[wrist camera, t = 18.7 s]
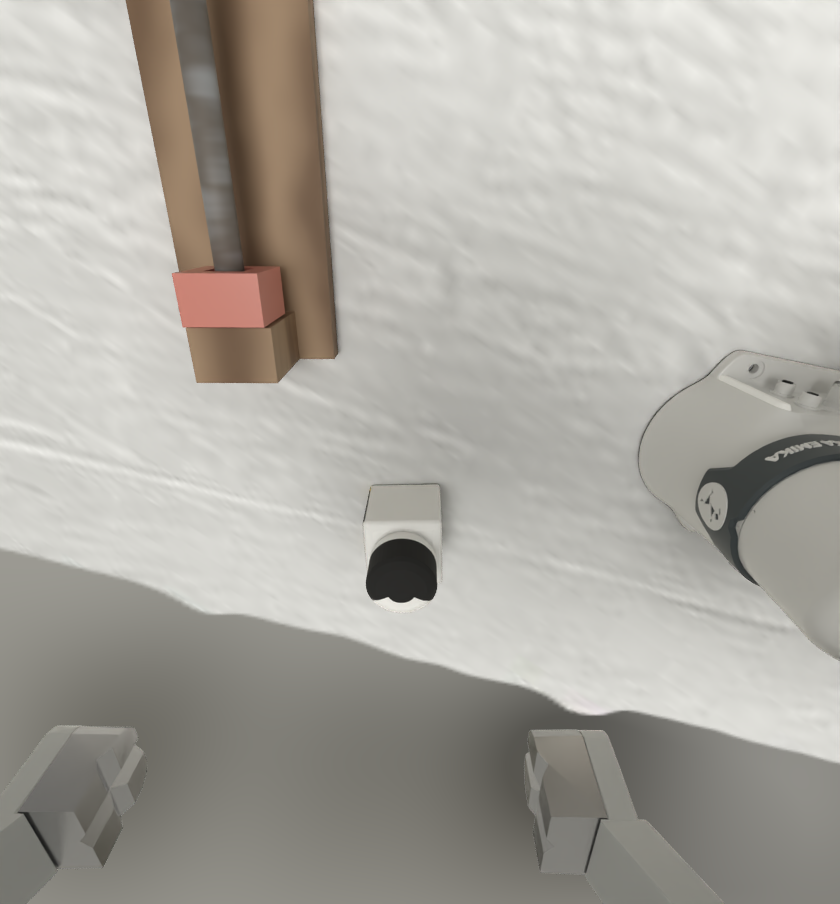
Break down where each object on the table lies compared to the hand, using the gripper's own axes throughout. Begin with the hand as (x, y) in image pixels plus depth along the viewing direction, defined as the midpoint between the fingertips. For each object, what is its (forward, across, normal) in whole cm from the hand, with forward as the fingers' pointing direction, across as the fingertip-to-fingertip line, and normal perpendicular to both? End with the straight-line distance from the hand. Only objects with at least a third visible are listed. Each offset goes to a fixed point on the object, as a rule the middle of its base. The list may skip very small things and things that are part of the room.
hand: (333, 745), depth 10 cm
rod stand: (+37, -12, +14) cm, 41 cm away
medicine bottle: (+37, 0, -18) cm, 41 cm away
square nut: (+33, -12, +5) cm, 35 cm away
